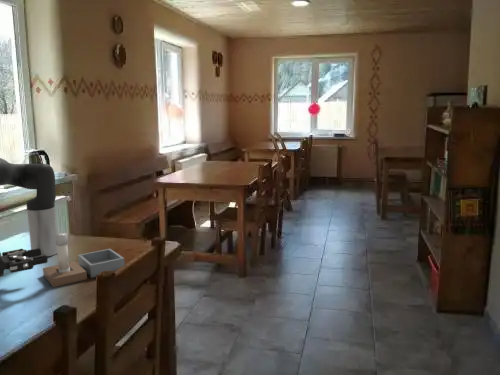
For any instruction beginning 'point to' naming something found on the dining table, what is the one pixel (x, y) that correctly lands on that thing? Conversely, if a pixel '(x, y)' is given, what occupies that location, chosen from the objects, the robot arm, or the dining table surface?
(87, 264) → the parts tray
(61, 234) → the fuse
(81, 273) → the block
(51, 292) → the dining table surface
